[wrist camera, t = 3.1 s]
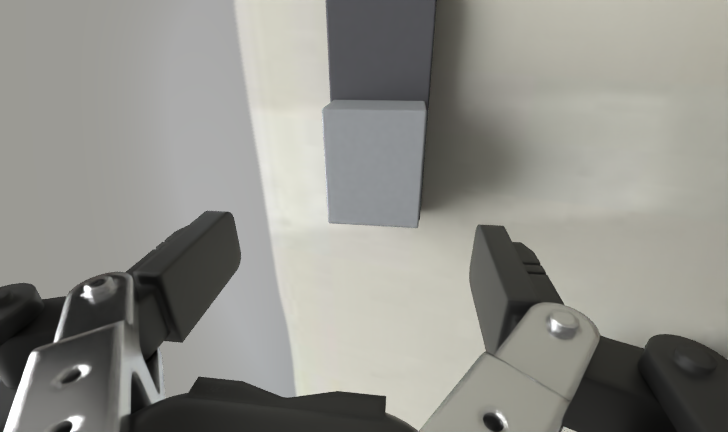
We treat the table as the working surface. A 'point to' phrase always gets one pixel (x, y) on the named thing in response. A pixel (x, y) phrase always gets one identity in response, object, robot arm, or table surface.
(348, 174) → the stepped grey block
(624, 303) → the table surface
